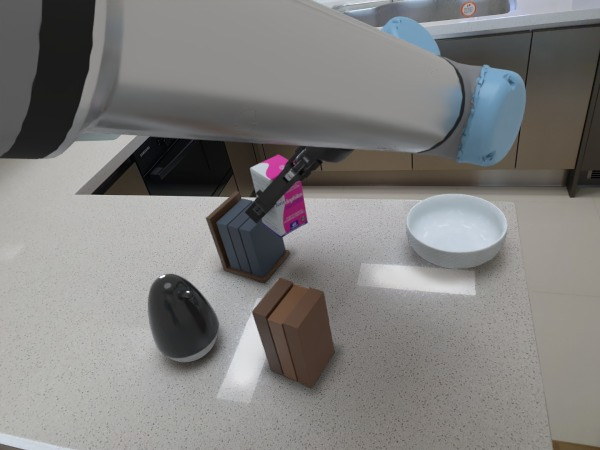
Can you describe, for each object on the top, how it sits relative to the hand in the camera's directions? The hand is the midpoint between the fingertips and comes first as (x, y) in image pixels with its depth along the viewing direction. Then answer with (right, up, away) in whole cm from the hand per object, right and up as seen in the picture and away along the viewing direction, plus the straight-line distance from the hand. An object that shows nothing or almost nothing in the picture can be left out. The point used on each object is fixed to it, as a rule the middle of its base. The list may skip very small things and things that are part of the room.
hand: (265, 203), depth 78 cm
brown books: (+6, -24, -8) cm, 26 cm away
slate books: (-2, -11, +12) cm, 16 cm away
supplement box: (+3, -4, 0) cm, 5 cm away
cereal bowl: (+34, -8, +6) cm, 35 cm away
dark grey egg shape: (-11, -24, -2) cm, 26 cm away
